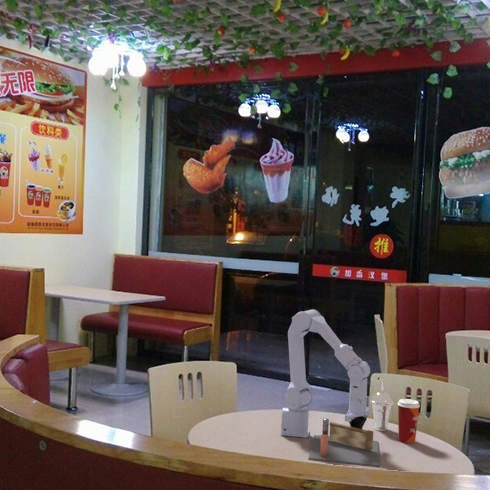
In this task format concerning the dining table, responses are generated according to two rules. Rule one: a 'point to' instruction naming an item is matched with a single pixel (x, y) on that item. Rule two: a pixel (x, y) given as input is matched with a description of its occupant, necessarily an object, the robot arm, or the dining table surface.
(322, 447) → the post
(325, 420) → the hinge post
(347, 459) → the mat
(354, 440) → the gate
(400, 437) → the paper cup
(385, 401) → the cup with straw
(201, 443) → the dining table surface
